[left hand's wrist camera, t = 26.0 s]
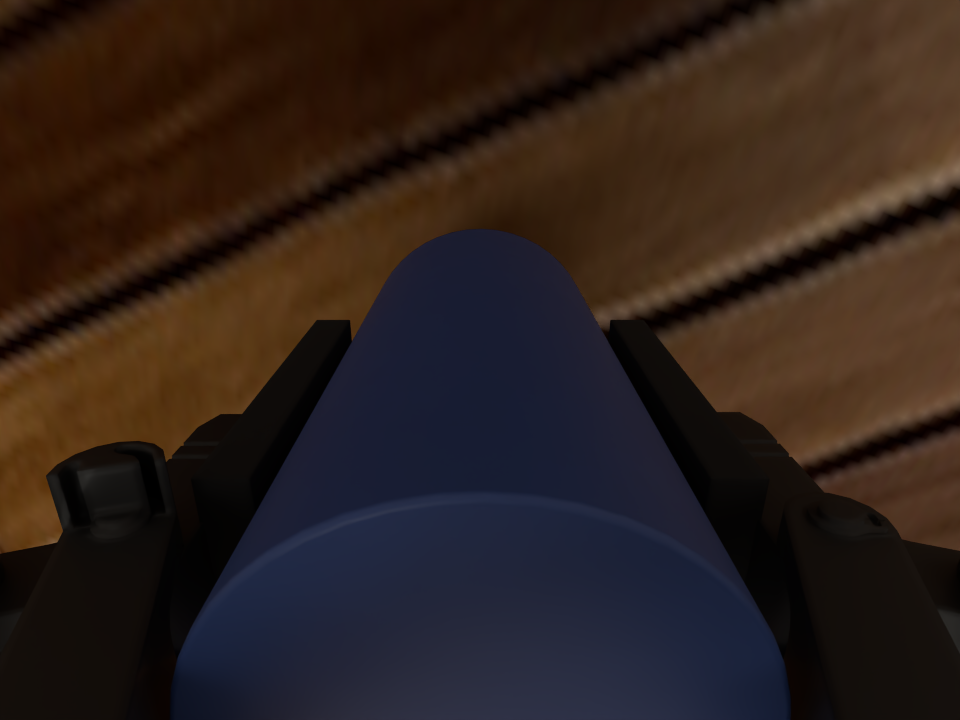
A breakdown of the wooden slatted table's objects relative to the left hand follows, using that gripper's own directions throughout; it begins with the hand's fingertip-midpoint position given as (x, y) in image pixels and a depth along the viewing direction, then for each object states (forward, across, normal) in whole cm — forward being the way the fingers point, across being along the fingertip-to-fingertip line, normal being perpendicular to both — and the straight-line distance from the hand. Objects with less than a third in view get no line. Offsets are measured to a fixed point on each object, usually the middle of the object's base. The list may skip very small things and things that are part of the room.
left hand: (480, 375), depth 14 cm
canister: (+3, 0, 0) cm, 3 cm away
